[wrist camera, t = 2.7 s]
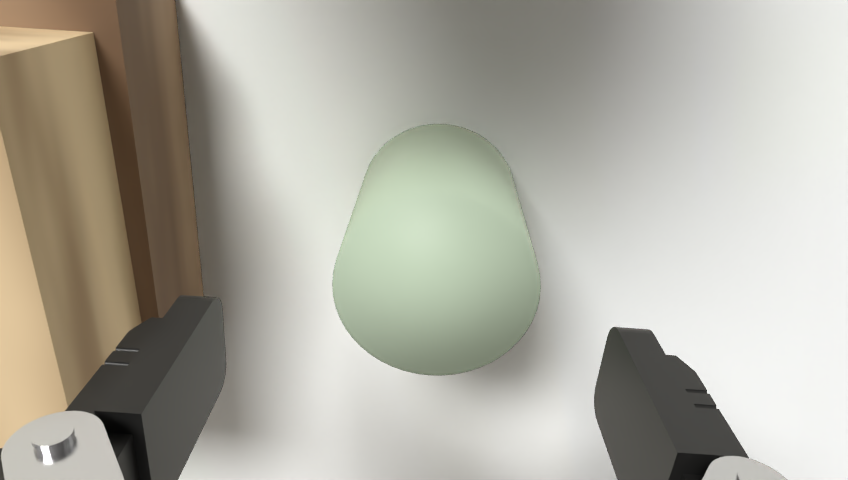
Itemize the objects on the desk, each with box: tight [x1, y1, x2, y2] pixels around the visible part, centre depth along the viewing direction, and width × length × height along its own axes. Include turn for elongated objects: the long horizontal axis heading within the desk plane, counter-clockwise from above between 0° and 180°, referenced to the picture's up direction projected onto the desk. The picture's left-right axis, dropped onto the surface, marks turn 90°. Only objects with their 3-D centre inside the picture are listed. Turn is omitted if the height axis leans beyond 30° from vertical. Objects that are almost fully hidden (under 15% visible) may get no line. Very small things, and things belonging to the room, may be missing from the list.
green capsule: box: [332, 124, 541, 375], centre depth 18 cm, size 5×5×6 cm
